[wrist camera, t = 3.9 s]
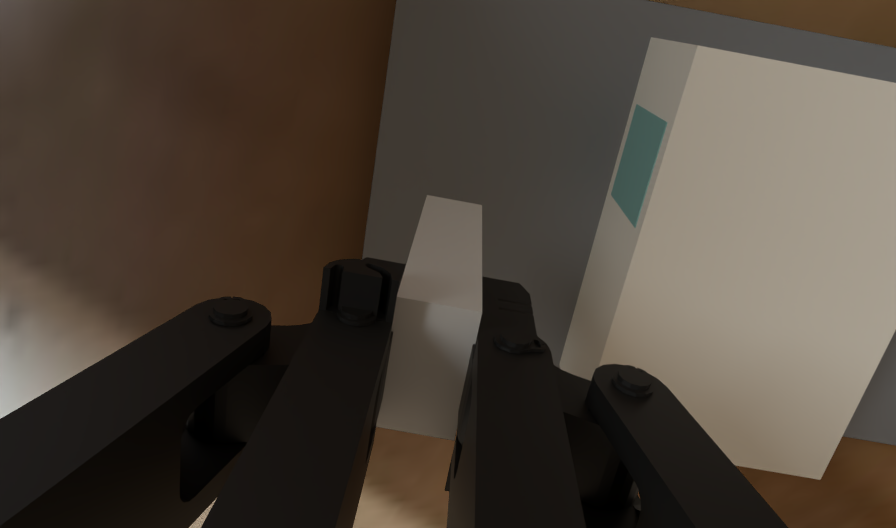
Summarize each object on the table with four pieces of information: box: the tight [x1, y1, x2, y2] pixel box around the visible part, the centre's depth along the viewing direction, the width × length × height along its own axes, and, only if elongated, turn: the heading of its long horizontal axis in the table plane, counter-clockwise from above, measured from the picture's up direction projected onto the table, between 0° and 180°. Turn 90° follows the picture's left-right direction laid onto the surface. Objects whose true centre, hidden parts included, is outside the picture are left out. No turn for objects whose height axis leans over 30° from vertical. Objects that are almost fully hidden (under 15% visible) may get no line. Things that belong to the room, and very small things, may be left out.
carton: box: [559, 37, 896, 480], centre depth 20 cm, size 8×12×4 cm
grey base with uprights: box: [362, 0, 896, 445], centre depth 19 cm, size 30×14×12 cm, turn 80°
